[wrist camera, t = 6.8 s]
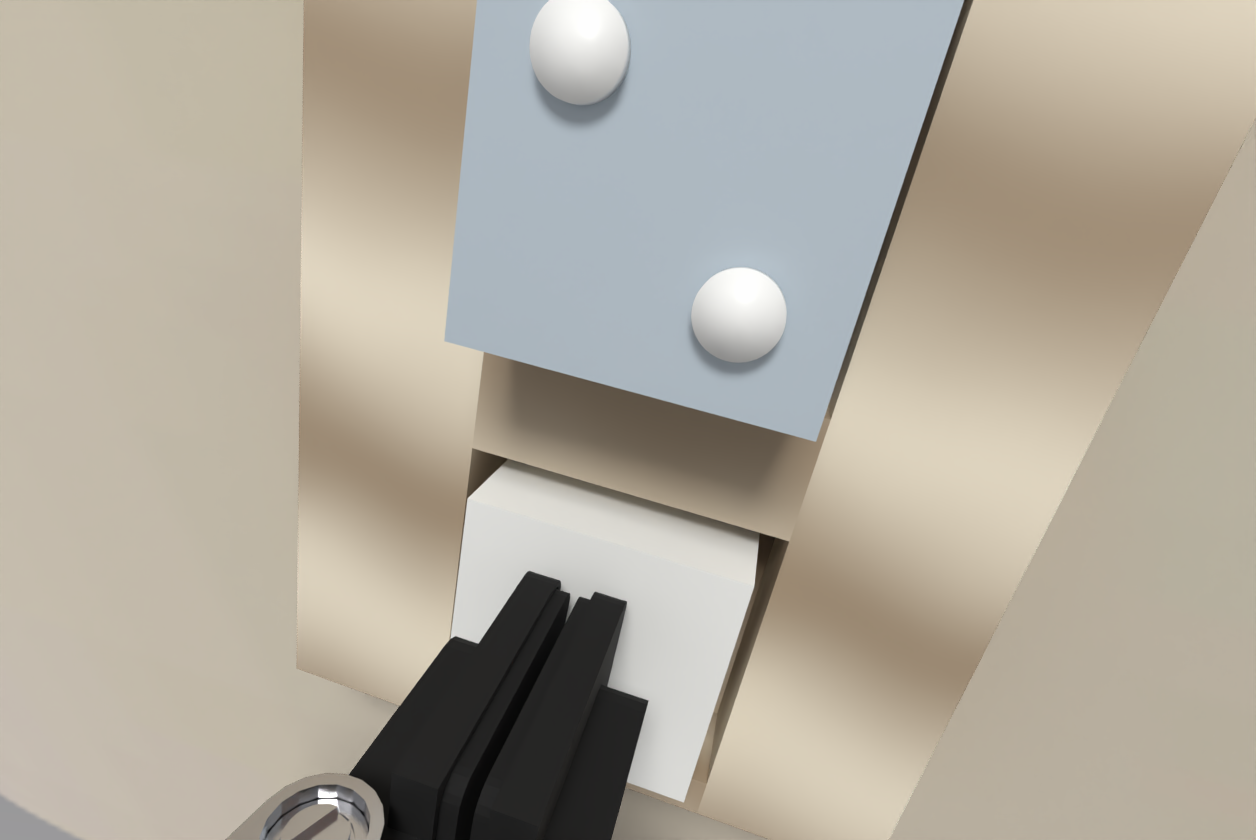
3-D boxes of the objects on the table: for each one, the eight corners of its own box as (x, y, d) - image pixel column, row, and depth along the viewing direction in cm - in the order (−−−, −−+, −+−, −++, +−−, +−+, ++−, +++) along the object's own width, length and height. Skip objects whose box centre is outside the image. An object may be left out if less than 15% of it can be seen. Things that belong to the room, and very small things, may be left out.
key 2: (811, 383, 10) (816, 449, 7) (518, 307, 10) (435, 345, 8) (924, 27, 8) (980, -38, 6) (565, -36, 9) (478, -117, 6)
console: (859, 770, 14) (870, 875, 12) (363, 602, 16) (296, 668, 14) (1620, -898, 6) (2072, -1489, 4) (449, -875, 8) (318, -1275, 6)
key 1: (701, 703, 14) (682, 812, 11) (495, 634, 14) (435, 723, 12) (762, 512, 12) (753, 593, 10) (524, 443, 13) (461, 504, 10)
